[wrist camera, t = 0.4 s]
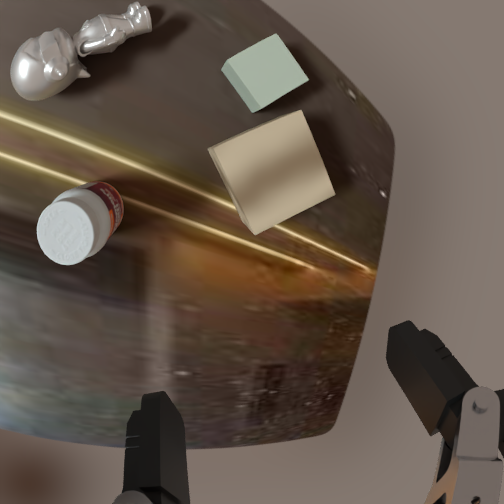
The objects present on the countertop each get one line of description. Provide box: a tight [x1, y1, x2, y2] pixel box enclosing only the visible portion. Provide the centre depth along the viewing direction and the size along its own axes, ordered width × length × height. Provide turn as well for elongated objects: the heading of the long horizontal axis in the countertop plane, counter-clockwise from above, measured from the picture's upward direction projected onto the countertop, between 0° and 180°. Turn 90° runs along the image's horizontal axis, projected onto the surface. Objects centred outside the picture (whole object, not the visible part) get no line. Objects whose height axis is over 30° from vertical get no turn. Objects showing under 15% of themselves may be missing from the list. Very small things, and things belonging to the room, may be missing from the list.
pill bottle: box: [37, 181, 124, 265], centre depth 27 cm, size 6×6×11 cm
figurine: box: [10, 1, 152, 101], centre depth 24 cm, size 11×7×15 cm
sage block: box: [221, 34, 309, 113], centre depth 30 cm, size 6×6×4 cm
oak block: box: [208, 110, 335, 235], centre depth 32 cm, size 9×9×6 cm
